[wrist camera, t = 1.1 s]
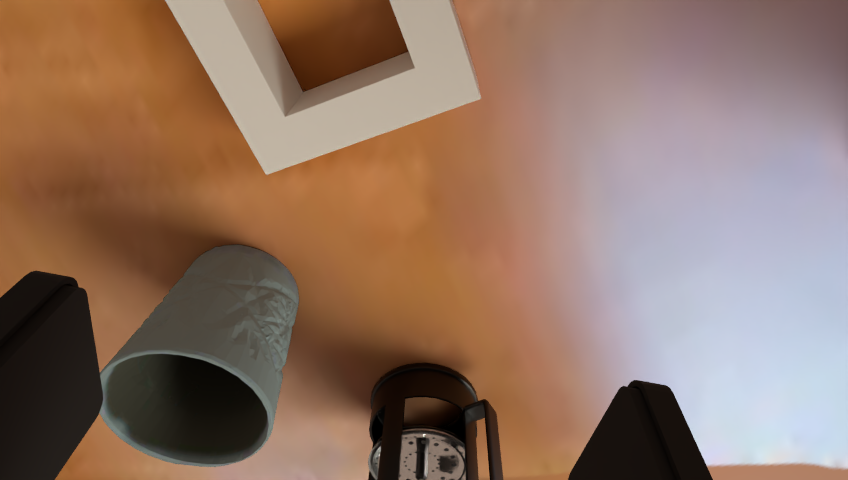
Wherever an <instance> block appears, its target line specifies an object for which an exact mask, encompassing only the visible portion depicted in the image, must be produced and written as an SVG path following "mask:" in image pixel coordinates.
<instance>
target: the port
mask: <svg viewBox="0 0 848 480" xmlns="http://www.w3.org/2000/svg"><path fill="white" fill-rule="evenodd" d="M165 1H166V3H167V4H168V6H169V8H170V10H171V11H172V13H173V15H174V16H175V18H176V20H177V22H178V23H179V25H180V27H181V29H182V30H183V32H184V34H185V35H186V37H187V39H188V41H189V42H190V44H191V46H192V48H193V49H194V51H195V53H196V54H197V56H198V58H199V60H200V61H201V63H202V65H203V67H204V68H205V70H206V72H207V73H208V75H209V77H210V79H211V80H212V82H213V84H214V86H215V87H216V89H217V91H218V92H219V94H220V96H221V98H222V99H223V101H224V103H225V105H226V106H227V108H228V110H229V111H230V113H231V115H232V117H233V118H234V120H235V122H236V124H237V125H238V127H239V129H240V130H241V132H242V134H243V136H244V137H245V139H246V141H247V143H248V144H249V146H250V148H251V149H252V151H253V153H254V155H255V156H256V158H257V160H258V162H259V163H260V165H261V167H262V168H263V170H264V172H265V174H266V175H267V174H270V173H273V172H276V171H279V170H281V169H284V168H287V167H290V166H293V165H295V164H298V163H301V162H304V161H307V160H310V159H312V158H315V157H318V156H321V155H324V154H327V153H329V152H332V151H335V150H338V149H341V148H343V147H346V146H349V145H352V144H355V143H358V142H360V141H363V140H366V139H369V138H372V137H375V136H377V135H380V134H383V133H386V132H389V131H391V130H394V129H397V128H400V127H403V126H406V125H408V124H411V123H414V122H417V121H420V120H422V119H425V118H428V117H431V116H434V115H437V114H439V113H442V112H445V111H448V110H451V109H454V108H456V107H459V106H462V105H465V104H468V103H470V102H473V101H476V100H479V99H481V96H480V90H479V85H478V80H477V75H476V72H475V69H474V66H473V63H472V59H471V56H470V53H469V50H468V47H467V44H466V41H465V38H464V35H463V32H462V28H461V25H460V22H459V19H458V16H457V13H456V10H455V7H454V4H453V1H452V0H389V1H390V3H391V6H392V9H393V11H394V14H395V16H396V19H397V22H398V24H399V27H400V30H401V32H402V35H403V38H404V40H405V43H406V45H407V48H408V51H409V52H406V53H404V54H401V55H398V56H396V57H393V58H391V59H388V60H385V61H383V62H380V63H378V64H375V65H372V66H370V67H367V68H365V69H362V70H359V71H357V72H354V73H352V74H349V75H346V76H344V77H341V78H339V79H336V80H333V81H331V82H328V83H326V84H323V85H320V86H318V87H315V88H313V89H310V90H307V91H305V92H303V91H302V89H301V87H300V85H299V83H298V81H297V79H296V77H295V75H294V73H293V71H292V69H291V67H290V65H289V63H288V61H287V59H286V57H285V55H284V53H283V51H282V49H281V47H280V45H279V43H278V41H277V39H276V37H275V35H274V33H273V31H272V29H271V27H270V25H269V22H268V20H267V18H266V16H265V14H264V12H263V10H262V8H261V6H260V4H259V2H258V0H165Z"/></svg>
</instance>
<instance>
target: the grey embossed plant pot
mask: <svg viewBox="0 0 848 480" xmlns="http://www.w3.org/2000/svg"><path fill="white" fill-rule="evenodd" d="M298 304H299V294H298V288H297V285H296V282H295V280H294V278H293V276H292V274H291V273H290V272H289V270H288V269H287V268H286V267H285V266H284V265H283V264H282V263H281V262H280V261H278V260H277V259H276V258H274V257H273V256H271V255H269V254H268V253H266V252H263V251H261V250H259V249H255V248H252V247H248V246H243V245H225V246H221V247H214V248H213V249H212V250H210V251H206V252H205V253H204V254H202V255H201V256H199V257H198V258H197V259H196V260H195V261H194V262H193V263H192V264H191V266H190V267H189V268H188V269H187V271H186V272H185V274H184V276H183V277H182V278H181V279H180V280H179V281H178V282H177V283H176V284H175V286H174V287H173V288H172V289H171V290H170V291H169V294H167V295H166V296H165V297H164V299H163V302H162V303H160V304H159V305H158V306H157V307H156V308H155V309H154V312H152V313H151V315H150V316H149V318H147V319H146V320H145V321H144V322H143V324H142V326H141V327H140V328H139V329H138V330H137V331H136V332H135V333H134V334H133V335H132V337H131V338H130V339H129V340H128V341H127V343H126V344H125V345H124V346H123V347H122V348H121V349H120V350H119V352H118V353H117V354H116V355H115V356H114V357H113V358H112V360H111V361H110V362H109V363H108V364H107V365H106V366H105V367H104V369H103V370H102V371H101V372H100V378H101V384H102V390H103V403H102V407H101V410H100V412H99V413H100V415H101V416H102V418H103V420H104V422H105V423H106V424H107V426H108V427H109V428H110V429H111V430H112V431H113V432H114V433H115V434H116V435H117V436H118V437H119V438H120V439H122V440H123V441H125V442H126V443H128V444H129V445H131V446H132V447H134V448H135V449H137V450H139V451H141V452H143V453H145V454H147V455H149V456H152V457H155V458H158V459H160V460H163V461H166V462H171V463H175V464H184V465H192V466H201V467H217V466H225V465H229V464H232V463H236V462H240V461H242V460H244V459H246V458H249V457H250V456H252V455H254V454H255V453H257V452H258V451H259V450H260V449H261V448H262V447H263V445H264V444H265V443H266V441H267V440H268V438H269V436H270V435H271V432H272V429H273V424H274V418H275V413H276V408H277V402H278V397H279V393H280V388H281V383H282V378H283V373H282V371H281V370H282V367H283V366H284V365H285V363H286V358H287V353H288V349H289V344H290V340H291V332H292V326H293V325H294V323H295V318H296V314H297V309H298Z"/></svg>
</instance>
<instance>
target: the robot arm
mask: <svg viewBox="0 0 848 480" xmlns="http://www.w3.org/2000/svg"><path fill="white" fill-rule="evenodd" d="M102 403H103V390H102V384H101V378H100V372H99V366H98V360H97V353H96V347H95V341H94V335H93V329H92V322H91V316H90V310H89V304H88V298H87V293H86V291H85V290H84V289H83V288H79V287H78V284H77V281H76V280H75V279H74V278H72V277H68V276H62V275H57V274H51V273H46V272H40V271H33V272H30V273H29V274H27V275H26V276H24V277H23V278H22V279H21V280H20V281H19V282H18V283H16V284H15V285H14V286H13V287H12V288H11V289H10V290H9V291H7V292H6V293H5V294H4V295H3V296H2V297H1V298H0V480H55V478H56V477H57V475H58V474H59V472H60V471H61V469H62V468H63V466H64V465H65V463H66V462H67V461H68V459H69V458H70V456H71V455H72V453H73V452H74V450H75V449H76V447H77V446H78V444H79V443H80V441H81V440H82V438H83V437H84V436H85V434H86V433H87V431H88V430H89V428H90V427H91V425H92V424H93V422H94V421H95V419H96V418H97V416H98V414H99V412H100V410H101V407H102ZM568 480H713V479H712V477H711V475H710V473H709V470H708V468H707V466H706V464H705V462H704V459H703V457H702V455H701V453H700V451H699V449H698V446H697V444H696V442H695V440H694V438H693V435H692V433H691V431H690V429H689V427H688V424H687V422H686V420H685V418H684V416H683V414H682V411H681V409H680V407H679V405H678V403H677V400H676V398H675V396H674V394H673V392H672V391H671V389H670V388H669V387H668V386H666V385H660V384H655V383H649V382H644V381H638V380H634V381H632V382H631V383H630V384H629V385H628V387H626V386H623V387H621V388H620V389H619V390H618V392H617V393H616V395H615V397H614V399H613V400H612V402H611V404H610V406H609V407H608V409H607V411H606V412H605V414H604V416H603V418H602V419H601V421H600V423H599V424H598V426H597V428H596V430H595V431H594V433H593V435H592V436H591V438H590V440H589V442H588V443H587V445H586V447H585V448H584V450H583V452H582V454H581V455H580V457H579V459H578V461H577V462H576V464H575V466H574V467H573V469H572V471H571V473H570V475H569V478H568Z"/></svg>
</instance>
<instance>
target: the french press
mask: <svg viewBox="0 0 848 480" xmlns="http://www.w3.org/2000/svg"><path fill="white" fill-rule="evenodd" d="M413 397H429V398H437V399H440V400H444V401H447V402H449V403H452V404H454V405H456V406H457V407H459V408H460V409H462V412H461V414H460V415H459V417H458V418H457V419H456V420H455V421H453V422H452V423H450V424H449V425H447V426H444V427H441V428H437V427H431V426H404V425H403V422H404V409H405V399H406V398H413ZM371 409H372V413H371V420H370V427H369V431H370V437H371V439H372V441H373V448H372V451H371V453H370V455H369V459H368V465H369V470H370V471H369V479H368V480H478V463H477V447H476V437H477V422H476V421H477V420H480V419H483V418H485V424H486V436H487V449H488V461H489V473H490V480H503V472H502V462H501V452H500V443H499V433H498V424H497V415H496V412H495V410H494V409H493V408H492V406H491V405H490V404H489V402H488V401H487V400H486V399H483V400H480V401H478V398H477V395H476V391H475V390H474V388H473V386H472V384H471V383H470V382H469V381H468V380H467V379H466V378H465V377H464V376H462V375H461V374H460V373H458V372H456V371H454V370H452V369H450V368H447V367H444V366H440V365H435V364H428V363H417V364H410V365H405V366H402V367H398V368H396V369H394V370H392V371H390V372H388V373H387V374H385V375H384V376H383V377H381V378H380V380H379V381H378V382H377V383H376V385H375V387H374V389H373V391H372V395H371Z"/></svg>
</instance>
